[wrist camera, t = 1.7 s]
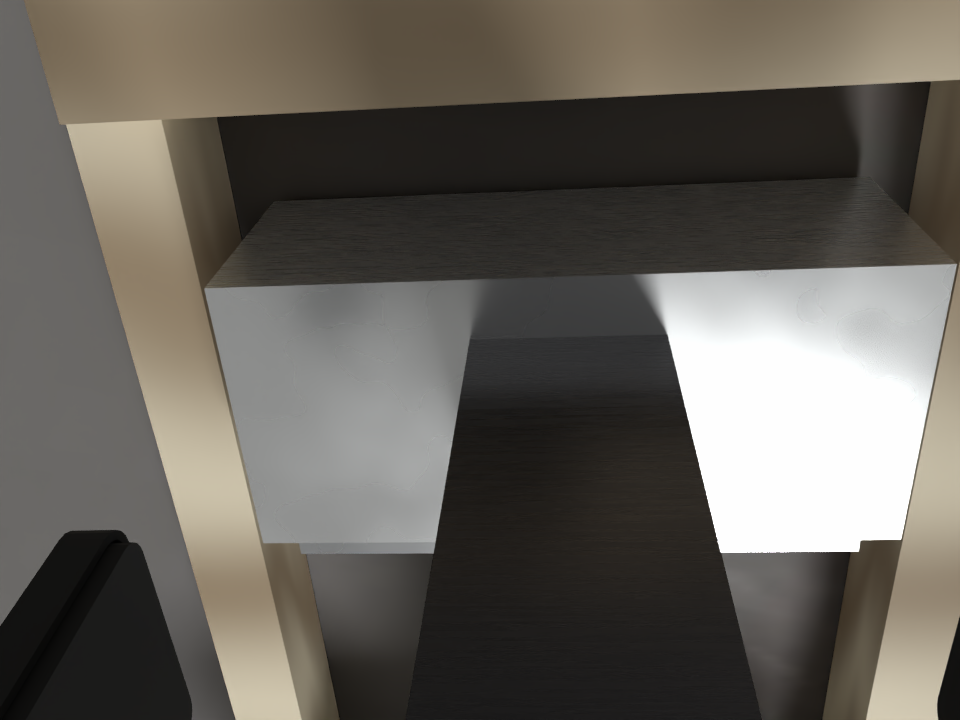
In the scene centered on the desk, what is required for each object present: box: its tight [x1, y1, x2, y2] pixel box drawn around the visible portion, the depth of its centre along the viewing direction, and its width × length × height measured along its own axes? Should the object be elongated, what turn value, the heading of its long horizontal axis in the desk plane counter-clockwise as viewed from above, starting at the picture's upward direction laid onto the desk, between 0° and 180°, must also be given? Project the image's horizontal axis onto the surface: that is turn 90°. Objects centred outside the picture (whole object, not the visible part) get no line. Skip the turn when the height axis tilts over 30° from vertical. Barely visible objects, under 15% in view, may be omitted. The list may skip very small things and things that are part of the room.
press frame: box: [24, 0, 960, 720], centre depth 18 cm, size 26×16×8 cm, turn 4°
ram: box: [204, 177, 957, 720], centre depth 13 cm, size 6×11×12 cm, turn 94°
